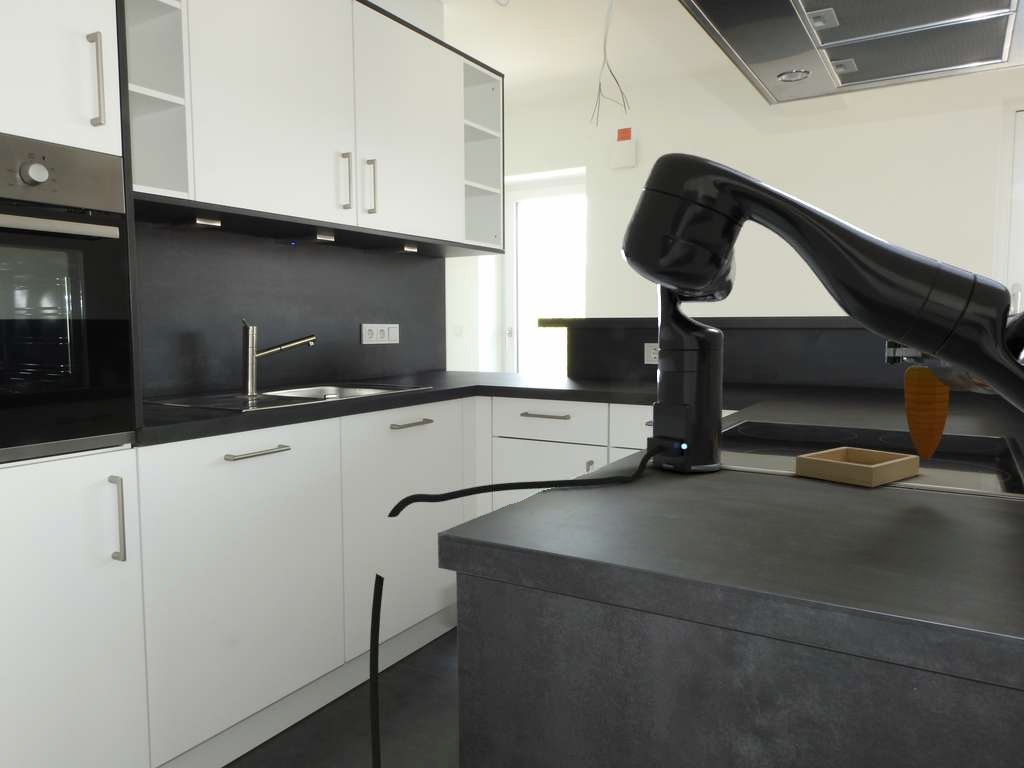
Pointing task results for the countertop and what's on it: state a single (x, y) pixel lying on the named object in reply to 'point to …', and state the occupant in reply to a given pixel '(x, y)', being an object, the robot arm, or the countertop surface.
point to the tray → (857, 466)
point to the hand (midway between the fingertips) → (921, 350)
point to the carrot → (925, 409)
